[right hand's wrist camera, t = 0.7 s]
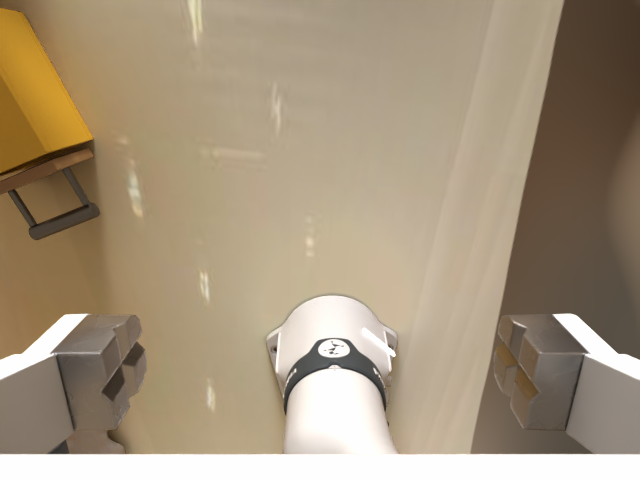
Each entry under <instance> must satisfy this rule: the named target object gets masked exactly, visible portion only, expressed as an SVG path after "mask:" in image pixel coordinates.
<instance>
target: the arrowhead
mask: <svg viewBox="0 0 640 480" xmlns="http://www.w3.org/2000/svg"><path fill="white" fill-rule="evenodd" d="M107 432H108V430H80V431H74V433H73V434H72V435H71V436H69V437H68V438H67V439H66V442H67V445H68V449H69V453H70V454H125V450H124V447H123V446H122V445H121V444H119V443H117V442H114V441H112V440H111V439H110V438H108V436H107Z"/></svg>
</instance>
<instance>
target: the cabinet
mask: <svg viewBox="0 0 640 480" xmlns="http://www.w3.org/2000/svg"><path fill="white" fill-rule="evenodd" d="M91 140H93V137H92V135H91V133H90V132H89V130H88V128H87V126H86V125H85V123H84V121H83V119H82V117H81V116H80V114H79V112H78V110H77V108H76V107H75V105H74V103H73V101H72V99H71V98H70V96H69V94H68V92H67V90H66V89H65V87H64V85H63V83H62V81H61V80H60V78H59V76H58V74H57V72H56V71H55V69H54V67H53V65H52V63H51V62H50V60H49V58H48V56H47V54H46V53H45V51H44V49H43V47H42V46H41V44H40V42H39V40H38V38H37V37H36V35H35V33H34V31H33V29H32V28H31V26H30V24H29V22H28V20H27V19H26V17H25V15H24V13H23V12H18V11H13V10H8V9H3V8H0V176H3V175H7V174H10V173H13V172H16V171H19V170H22V169H24V168H26V167H29V166H31V165H34V164H36V163H38V162H41V161H43V160H45V159H48V158H50V157H53V156H55V155H57V154H60V153H62V152H64V151H67V150H69V149H72V148H74V147H76V146H79V145H81V144H83V143H86V142H88V141H91Z"/></svg>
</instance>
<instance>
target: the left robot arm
mask: <svg viewBox="0 0 640 480" xmlns="http://www.w3.org/2000/svg"><path fill="white" fill-rule="evenodd" d="M47 454H70V453H69V449H68V445H67V442H66V439H65V440H64V441H63V442H61V443H60V444H59V445H57V446H56V447H55V448H53V449H52V450H51V451H50V452H48V453H47Z"/></svg>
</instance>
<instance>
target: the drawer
mask: <svg viewBox="0 0 640 480" xmlns="http://www.w3.org/2000/svg"><path fill="white" fill-rule="evenodd" d="M93 157H94V156H93V154H92V152H91V151H90V149H89V148H86V149H83V150H80V151H77V152H74V153H71V154H68V155H65V156H62V157H59V158H56V159H53V160H50V161H47V162H45V163H43V164H40V165H38V166H36V167H33V168H31V169H28V170H26V171H24V172H21V173H19V174H16V175H14V176H12V177H9V178H7V179H5V180H2V181H0V195H1V194H4V193H6V192H8V193H9V195H10V196H11V198H12V200H13V201H14V203H15V204H16V206H17V207H18V209H19V210H20V212H21V213H22V215H23V216H24V218H25V220H26V221H27V223H28V224H29V226H30V228H29V234H30V236H31V237H32V238H33V239H34V240H40V239H42V238H45V237H47V236H50V235H52V234H55V233H57V232H60V231H62V230H65V229H67V228H70V227H72V226H75V225H78V224H80V223H83V222H85V221H88V220H90V219H93V218H95V217H98V216H99V215H100V211H99V208H98V207H97V205H96V204H94V203H90V201H89V200H88V198H87V196H86V194H85V193H84V191H83V189H82V188H81V186H80V184H79V183H78V181H77V179H76V178H75V176H74V174H73V172H72V171H71V169H70V167H71V166H73V165H76V164H78V163H80V162H83V161H85V160H88V159H90V158H93ZM61 170H63V172H64V174H65V175H66V177H67V179H68V180H69V182H70V184H71V185H72V187H73V189H74V190H75V192H76V194H77V195H78V197H79V199H80V201H81V202H82V204H83V206H82V207H79V208H77V209H74V210H72V211H69V212H67V213H64V214H62V215H59V216H57V217H54V218H52V219H49V220H47V221H44V222H42V223H39V224H37V223H36V221H35V220H34V218H33V216H32V215H31V213H30V212H29V210H28V209H27V207H26V206H25V204H24V202H23V201H22V199H21V198H20V196H19V195H18V193H17V192H16V190H15V189H17V188H19V187H22V186H25V185H27V184H30V183H32V182H35V181H37V180H39V179H42V178H44V177H47V176H49V175H52V174H54V173H56V172H59V171H61ZM36 224H37V225H36Z"/></svg>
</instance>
